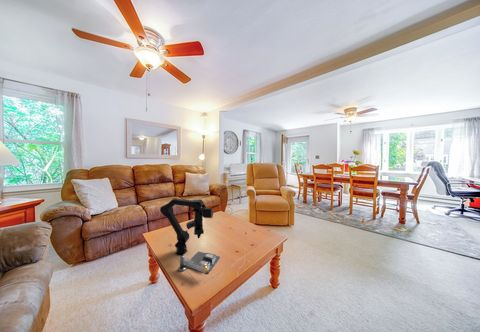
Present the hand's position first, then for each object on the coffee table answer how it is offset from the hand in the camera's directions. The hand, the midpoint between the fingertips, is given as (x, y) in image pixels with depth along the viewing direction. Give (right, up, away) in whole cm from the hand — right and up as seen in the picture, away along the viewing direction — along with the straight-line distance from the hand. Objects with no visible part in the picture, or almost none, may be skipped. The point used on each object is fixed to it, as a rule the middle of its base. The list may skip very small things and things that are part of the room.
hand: (198, 237), depth 114 cm
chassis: (+5, -13, -9) cm, 16 cm away
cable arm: (+3, -9, -20) cm, 22 cm away
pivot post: (-7, -13, -15) cm, 21 cm away
